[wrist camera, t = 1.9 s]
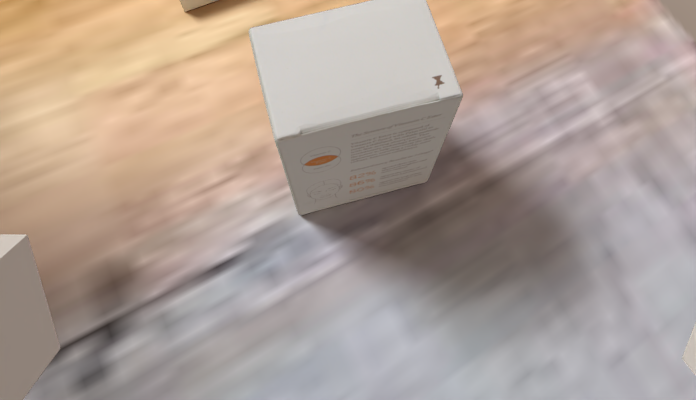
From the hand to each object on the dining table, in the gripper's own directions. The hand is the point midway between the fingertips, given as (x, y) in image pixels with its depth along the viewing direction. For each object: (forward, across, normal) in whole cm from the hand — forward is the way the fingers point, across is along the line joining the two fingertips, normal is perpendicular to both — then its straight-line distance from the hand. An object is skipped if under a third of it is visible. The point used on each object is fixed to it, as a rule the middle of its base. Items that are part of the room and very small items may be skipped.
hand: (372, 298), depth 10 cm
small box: (+21, 0, -5) cm, 22 cm away
